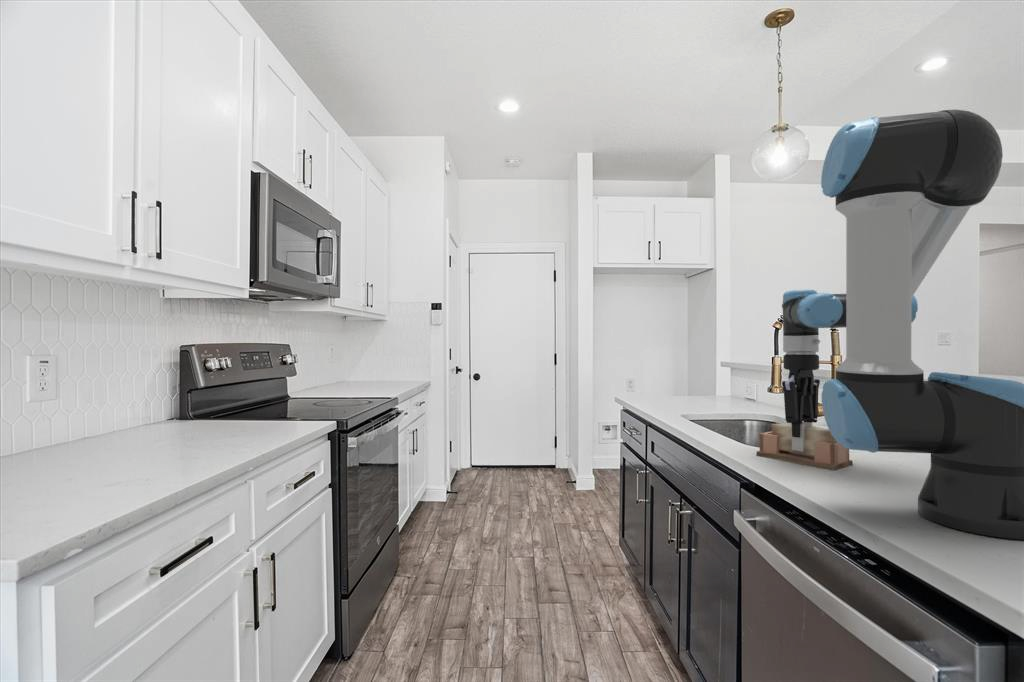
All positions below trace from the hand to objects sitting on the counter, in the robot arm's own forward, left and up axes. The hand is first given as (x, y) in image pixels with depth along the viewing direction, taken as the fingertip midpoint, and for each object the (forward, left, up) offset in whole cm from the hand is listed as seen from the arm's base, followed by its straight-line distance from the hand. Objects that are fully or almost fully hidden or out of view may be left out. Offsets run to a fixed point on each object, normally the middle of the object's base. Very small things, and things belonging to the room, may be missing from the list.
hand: (802, 449), depth 119 cm
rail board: (0, 0, -3) cm, 3 cm away
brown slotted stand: (0, 0, -2) cm, 2 cm away
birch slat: (0, 0, -1) cm, 1 cm away
